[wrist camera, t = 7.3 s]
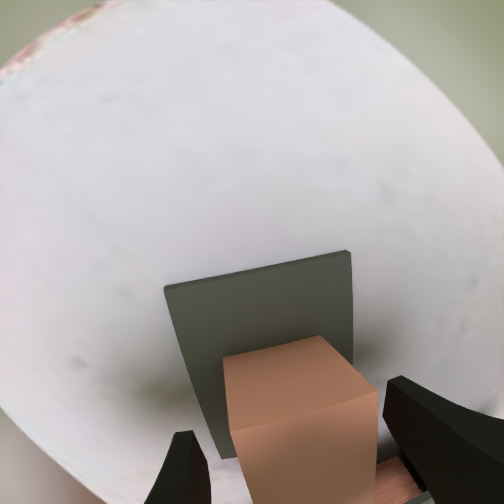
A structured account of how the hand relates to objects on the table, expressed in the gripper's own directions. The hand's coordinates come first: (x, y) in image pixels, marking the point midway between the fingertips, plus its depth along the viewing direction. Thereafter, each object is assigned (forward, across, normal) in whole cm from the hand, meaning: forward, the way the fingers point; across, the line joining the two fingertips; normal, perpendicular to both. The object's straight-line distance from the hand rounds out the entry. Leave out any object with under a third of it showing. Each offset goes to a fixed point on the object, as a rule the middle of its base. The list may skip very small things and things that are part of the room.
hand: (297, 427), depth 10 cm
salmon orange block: (+2, 0, +3) cm, 4 cm away
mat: (+3, 0, 0) cm, 3 cm away
